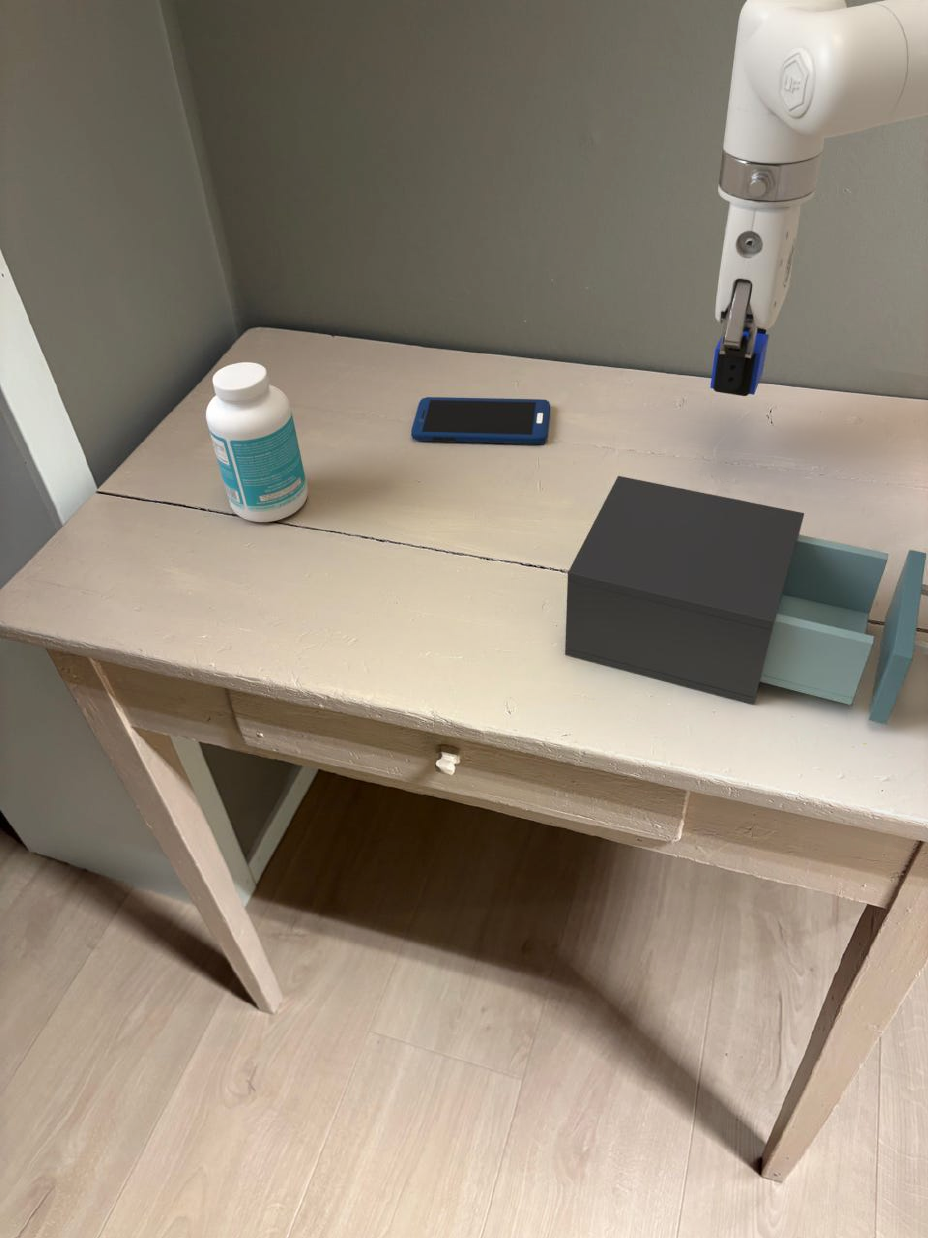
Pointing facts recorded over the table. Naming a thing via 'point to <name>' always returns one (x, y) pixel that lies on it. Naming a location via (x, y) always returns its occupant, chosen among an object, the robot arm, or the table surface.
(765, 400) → the table surface
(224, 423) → the pill bottle
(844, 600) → the drawer
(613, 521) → the dark grey drawer cabinet
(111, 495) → the table surface
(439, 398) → the cell phone
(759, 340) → the blue block
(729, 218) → the robot arm
